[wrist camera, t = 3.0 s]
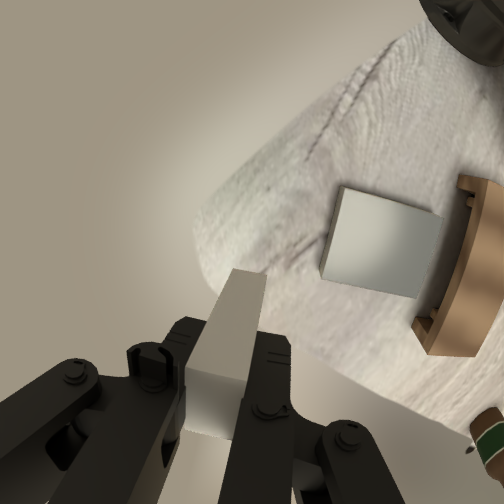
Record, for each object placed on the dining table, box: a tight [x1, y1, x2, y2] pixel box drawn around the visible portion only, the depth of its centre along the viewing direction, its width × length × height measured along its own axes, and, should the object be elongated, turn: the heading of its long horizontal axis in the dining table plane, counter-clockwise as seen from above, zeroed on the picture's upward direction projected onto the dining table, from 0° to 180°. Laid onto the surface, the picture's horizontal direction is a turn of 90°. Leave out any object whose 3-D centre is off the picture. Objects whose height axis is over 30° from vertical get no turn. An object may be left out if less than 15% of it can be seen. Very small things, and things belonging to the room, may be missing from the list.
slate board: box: [319, 186, 443, 299], centre depth 27 cm, size 9×11×3 cm
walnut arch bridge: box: [411, 174, 504, 357], centre depth 24 cm, size 19×8×6 cm, turn 171°
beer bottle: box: [470, 408, 504, 488], centre depth 24 cm, size 8×8×24 cm
